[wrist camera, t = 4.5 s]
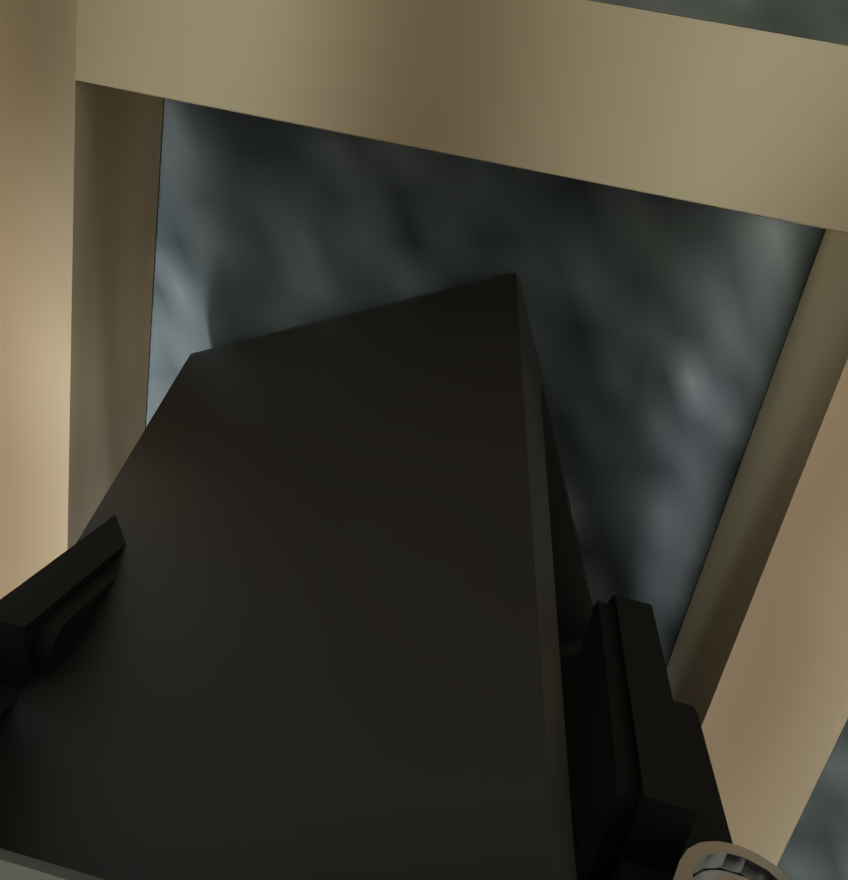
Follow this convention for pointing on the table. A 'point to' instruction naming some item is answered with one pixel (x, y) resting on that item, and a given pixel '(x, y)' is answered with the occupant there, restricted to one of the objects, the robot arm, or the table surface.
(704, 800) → the robot arm
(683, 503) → the table surface
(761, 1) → the table surface
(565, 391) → the table surface
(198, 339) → the table surface
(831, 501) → the wooden frame
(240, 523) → the phone stand
